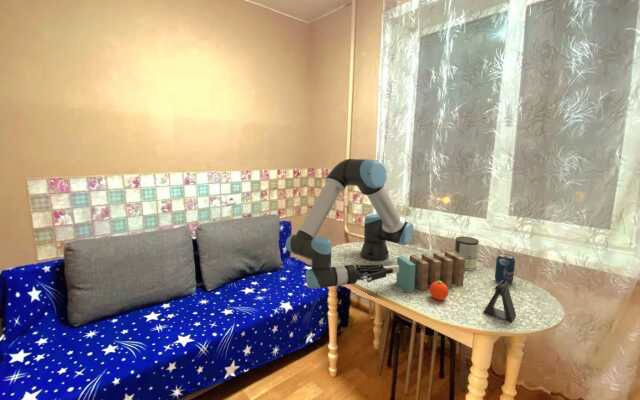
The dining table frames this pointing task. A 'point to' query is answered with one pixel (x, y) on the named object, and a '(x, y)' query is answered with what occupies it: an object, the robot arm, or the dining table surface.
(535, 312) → the dining table surface
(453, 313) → the dining table surface
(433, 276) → the walnut domino
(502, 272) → the soda can
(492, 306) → the phone stand
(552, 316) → the dining table surface
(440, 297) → the clementine
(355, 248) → the dining table surface
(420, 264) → the walnut domino
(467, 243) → the coffee can
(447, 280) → the walnut domino
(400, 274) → the teal domino
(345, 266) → the robot arm
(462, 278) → the walnut domino
